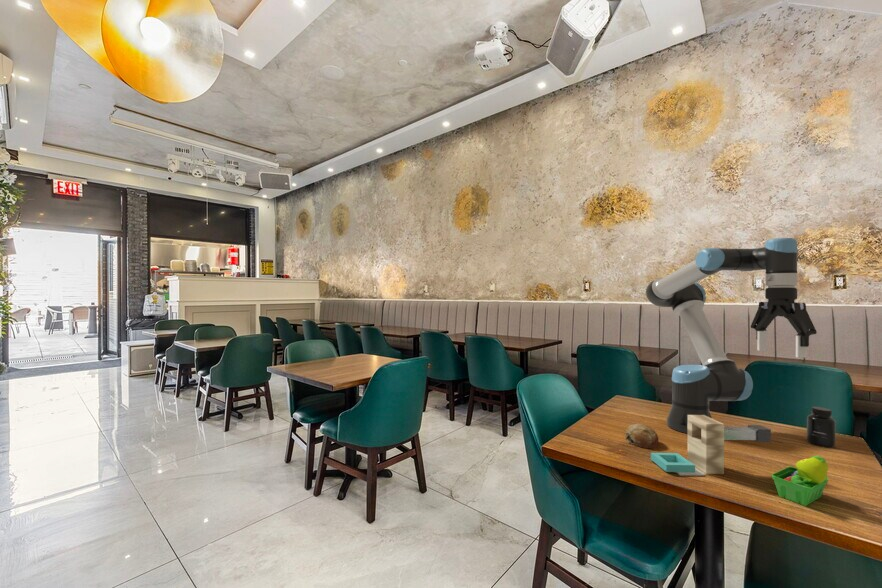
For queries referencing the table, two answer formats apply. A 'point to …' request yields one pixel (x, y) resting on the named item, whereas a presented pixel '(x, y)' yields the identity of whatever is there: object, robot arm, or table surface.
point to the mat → (696, 473)
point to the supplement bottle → (821, 427)
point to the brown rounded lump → (641, 436)
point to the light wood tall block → (705, 444)
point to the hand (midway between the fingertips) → (780, 353)
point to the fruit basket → (802, 480)
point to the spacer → (679, 466)
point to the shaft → (748, 433)
